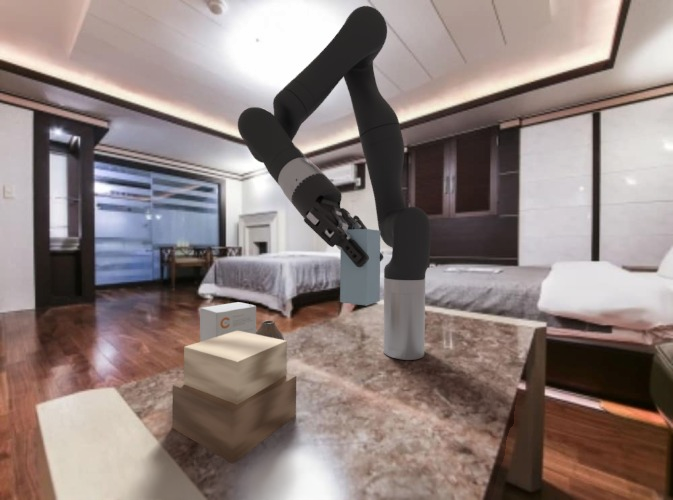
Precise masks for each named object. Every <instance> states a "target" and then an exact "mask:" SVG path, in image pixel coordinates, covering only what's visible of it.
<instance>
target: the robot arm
mask: <svg viewBox="0 0 673 500" xmlns="http://www.w3.org/2000/svg"><path fill="white" fill-rule="evenodd" d="M387 37H388V26H387V23H386V19H385V17H384V16H383V14H382V13H381V12H380V11H379V10H378V9H376V8H375V7H373V6H370V5H362V6H358V7H357V8H355V9H354V10H352V12H351V13H349V15H348V16H347V18H346V19H345V21H344V24H342V27H340V29H339V30H338V31H337V33H336V34H335V35H334V36H333V38H332V40H331V41H330V42H329V43H328V44H327V45H326V46H325V47H324V48H323V49H322V50H321V52H319V54H318V55H317V56H315V58H314V59H313V60H312V61H311V62H309V64H308V65H306V66H305V67H304V68H303V69H302V70H301V71H300V72H299V73H298V74H297V75H296V76H295V77H293V79H291V80H290V82H288V83H287V84H286V85H285V86H284V87H283V88H282V89H281V90H280V91H279V92H278V93H277V94H276V95H275V96H274V98H273V102H272V105H273V113H272V112H270V110H268V109H265V108H264V107H260V106H251V107H248V108H246V109H244V110H243V111H241V114H240V115H239V116H238V119H237V120H238V121H237V129H238V132H239V135H240V137H241V138H242V140H243V142H244V144H245V145H246V147H247V149H248V150H249V153H250V154H251V155H252V157H253V158H254V159H255V160H256V161H257V162H259V163H262V164H264V167H265V168H266V170H267V172H268V174H269V175H270V177H272V179H274V181H275V182H276V183H277V185H278V186H279V187H280V189H281V191H282V192H283V193H284V196H285V197H286V198H287V199H288V201H290V203H291V204H292V205H293V206H294V208H295V209H296V210H297V211H298V212H299V214H300V215H301V217H302V218H303V222H304V223H305V224H306V225H307V226H308V227H309V228H310V229H311V230H313V232H314V233H315V234H316V235H318V236H319V237H320V238H321V239H322V240H323V241H324V242H325V243H326V244H327V245H328V246H329V247H332V248H333V247H335V246H336V247H337V249H338V250H340V251H341V250H343V251H344V252H345V253H346V254H347V256H348V257H349V258H350V259H351V260H352V262H353V263H354V264H355V265H356V266H357V267H362V266H363V265H364V264H365V263H366V262H367V261H368V260H369V256H368V255H367V254H366V253H365V251H364V250H363V249H362V248H361V247H360V246H359V245H358V243H357V242H356V241H355V240H352V236H351V234H350V233H349V232H348V231H347V230H352V229H368V228H367V226H366V225H365V224H364V223H363V221H362V220H361V219H360V217H359V216H358V215H354V216H353V217H352V216H351V213H350V212H349V211H348V210H347V209H346V208H344V207H342V208H341V201H342V198H343V197H342V192H341V190H339V188H338V187H337V186H336V185H335V184H334V183H333V181H331V180H330V178H328V177H327V176H326V175H325V173H324V172H323V171H322V170H321V169H320V168H319V167H318V166H317V165H315V163H313V162H312V161H311V160H310V159H309V158H308V157H307V156H306V155H305V154H304V153H303V152H302V151H301V150H300V149H299V148H298V147H297V146H296V144H294V142H293V140H294V139H295V137H296V135H297V133H298V131H299V129H300V127H301V126H302V124H304V123H305V121H306V120H307V119H308V118H310V116H311V115H312V114H313V113H314V112H315V111H316V110H318V108H319V107H320V106H321V105H322V104H323V103H324V101H325V100H326V99H327V98H328V97H329V96H330V94H331V93H333V90H334V89H335V88H336V87H337V86H338V84H339V83H340V82H341V81H342V79H343V78H344V82H345V85H346V87H347V91H348V93H349V97H350V102H351V106H352V110H353V113H354V117H355V121H356V126H357V130H358V136H359V140H360V144H361V149H362V152H363V155H364V159H365V163H366V166H367V171H368V176H369V181H370V184H371V188H372V192H373V197H374V204H375V211H376V218H377V219H376V220H377V226H378V230H379V231H380V239H382V241H383V242H384V244H385V245H386V246H388V247H390V248H391V249H392V250H391V251H392V255H391V258H390V260H389V262H388V263H387V264H386V265H384V269H383V270H384V271H383V334H382V335H383V339H382V341H383V343H382V346H383V348H382V349H383V350H382V351H383V354H385V355H386V356H387V357H389V358H393V359H397V360H402V361H403V360H405V361H412V360H413V361H414V360H419V359H421V358H423V357H425V338H426V337H425V335H426V333H425V332H426V331H425V330H426V329H425V328H426V327H425V326H426V325H425V324H426V273H427V270H428V268H429V266H430V258H431V257H430V255H431V254H430V253H431V240H432V239H431V238H432V236H431V235H432V230H431V222H430V219H429V216H428V215H427V213H426V212H425V211H424V210H423V209H422V208H419V207H417V206H408V207H407V206H406V203H405V199H404V195H403V189H402V178H403V177H402V176H403V169H404V160H405V142H404V138H403V135H402V134H403V133H402V130H401V126H400V121H399V118H398V115H397V113H396V112H395V110H394V109H393V108H392V106H391V105H390V104H389V103H388V101H386V99H385V98H384V96H383V95H382V94H381V92H380V90H379V88H378V84H377V80H376V76H375V71H374V70H375V69H374V61H375V59H376V58H377V56H378V55H379V53H380V52H381V51H382V49H383V47H384V45H385V43H386V40H387ZM383 260H384V255H383V253H381V252H380V263H381V262H382V261H383Z"/></svg>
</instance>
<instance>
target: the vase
mask: <svg viewBox="0 0 673 500" xmlns="http://www.w3.org/2000/svg"><path fill="white" fill-rule="evenodd" d="M256 334H257V335H262V336H266V337H271V338H276V339H281V340H285V337H284V335H283V333H282V332H281V331H280V329H279V328H278V326H277V325H276V324H275V321H274V320H264V321H262V322H261V324H260V326H259V328H258V329H256Z"/></svg>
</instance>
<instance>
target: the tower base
mask: <svg viewBox="0 0 673 500" xmlns="http://www.w3.org/2000/svg"><path fill="white" fill-rule="evenodd" d="M171 414H172V415H171V417H172V420H171V421H172V426H171V427H172V428H173V429H174V430H176V431H177V432H179V433H180V434H182V435H183V436H185V437H186V438H189V439H191V440H192V441H194V442H195V443H197V444H199V445H200V446H202V447H204V448H205V449H207V450H209V451H210V452H212V453H214V454H215V455H217V456H218V457H221V458H222V459H223V460H225V461H227V462H228V463H230V464H233V463H235V462H236V461H237V460H239V459H241V457H243V456H245V454H247V453H249V451H251V450H252V449H254V448H255V447H257V445H259V444H261V443H262V442H263V441H264V440H266V439H267V438H268V437H270V436H271V435H272V434H274V433H275V432H276V431H278V430H279V429H280V428H283V426H285V425H286V424H287V423H289V422H290V421H291V420H293V418H296V417H297V375H294V374H292V373H288V372H287V376H285V377H283V378H282V379H280V380H278V381H277V382H275V383H273V384H272V385H270V386H268V387H266V388H265V389H263V390H261V391H260V392H258V393H256V394H255V395H253V396H251V397H250V398H248V399H246V400H244V401H243V402H241V403H239V404H238V405H236V404H234V403H231V402H229V401H226V400H223V399H221V398H218V397H216V396H213V395H210V394H208V393H205V392H202V391H200V390H197V389H195V388H192V387H189V386H187V385H184V379H183V380H181V381H178V382H176V383H174V384H172V413H171Z"/></svg>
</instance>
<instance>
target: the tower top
mask: <svg viewBox="0 0 673 500" xmlns="http://www.w3.org/2000/svg"><path fill="white" fill-rule="evenodd" d="M287 347H288V340H285V339H284V340H281V339H276V338H271V337H266V336H262V335H257V334H252V333H247V332H242V331H238V330H237V331H234V332H231V333H227V334H224V335H221V336H218V337H214V338H211V339H208V340H205V341H201V342H200V341H199V342H196V343H191V344H189V345H185V346H184V347H183V380H184V385H187V386H189V387H192V388H195V389H197V390H200V391H202V392H205V393H208V394H210V395H213V396H216V397H218V398H221V399H223V400H226V401H229V402H231V403H234V404H236V405H238V404H239V403H241V402H243V401H244V400H246V399H248V398H250V397H251V396H253V395H255V394H256V393H258V392H260V391H261V390H263V389H265V388H266V387H268V386H270V385H272V384H273V383H275V382H277V381H278V380H280V379H282V378H283V377H285V376H287V373H288V372H287V371H288V370H287V366H288V365H287V363H288V359H287V355H288V353H287V351H288V348H287Z"/></svg>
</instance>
